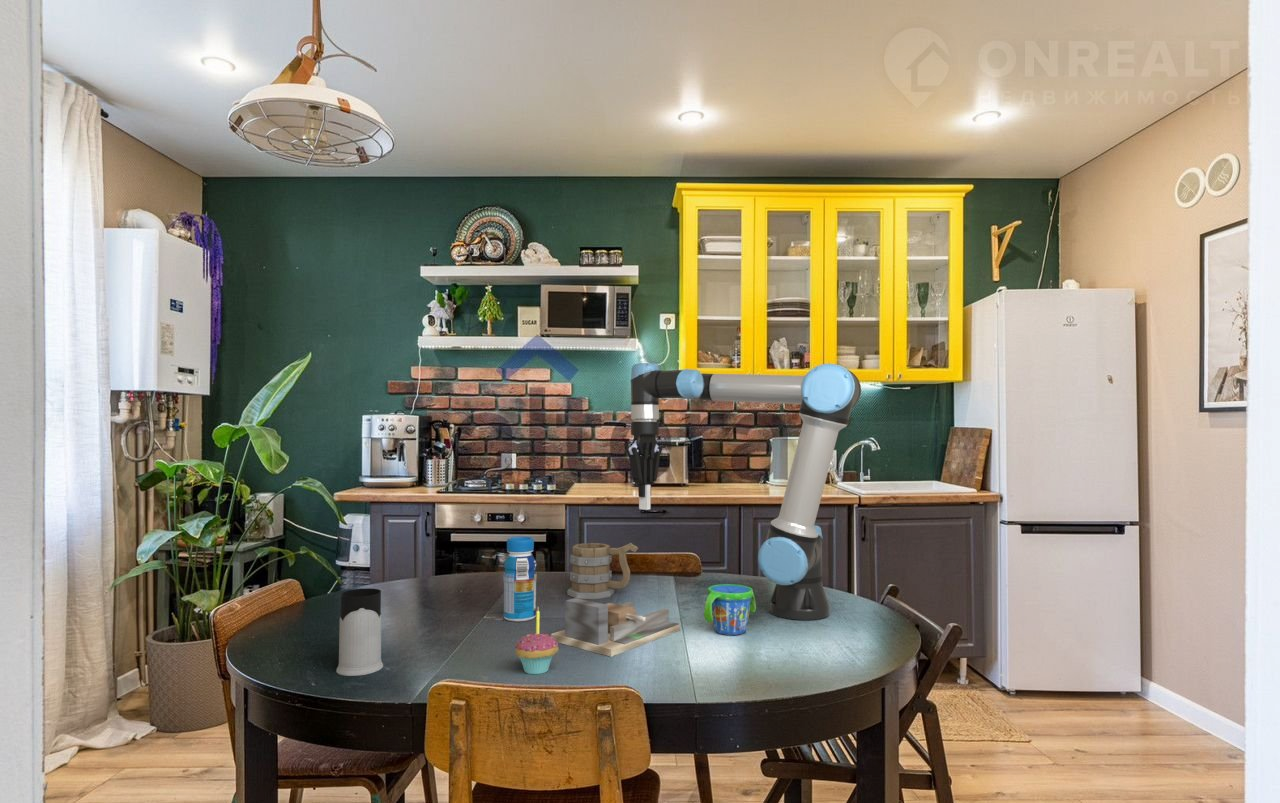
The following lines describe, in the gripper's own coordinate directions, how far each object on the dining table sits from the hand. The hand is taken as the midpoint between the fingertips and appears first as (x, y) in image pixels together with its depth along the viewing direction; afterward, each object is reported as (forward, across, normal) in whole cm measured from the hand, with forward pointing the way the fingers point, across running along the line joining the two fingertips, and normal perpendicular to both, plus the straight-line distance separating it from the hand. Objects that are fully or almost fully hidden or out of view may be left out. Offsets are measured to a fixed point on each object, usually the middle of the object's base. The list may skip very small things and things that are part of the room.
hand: (644, 509), depth 189 cm
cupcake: (+27, +51, +13) cm, 59 cm away
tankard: (+27, -5, -19) cm, 33 cm away
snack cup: (+27, +4, +29) cm, 40 cm away
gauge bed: (+26, +23, +10) cm, 36 cm away
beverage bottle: (+27, +27, -19) cm, 42 cm away
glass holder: (+27, +71, -18) cm, 78 cm away
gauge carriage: (+25, +24, +13) cm, 37 cm away
